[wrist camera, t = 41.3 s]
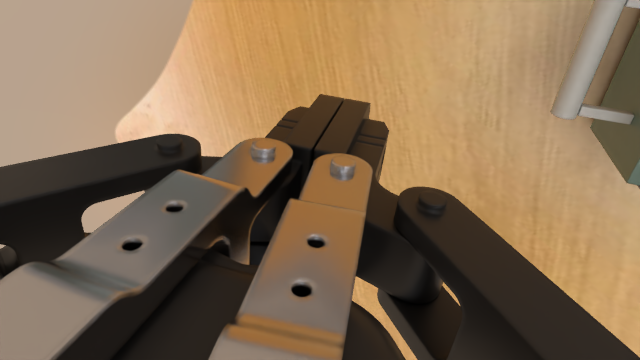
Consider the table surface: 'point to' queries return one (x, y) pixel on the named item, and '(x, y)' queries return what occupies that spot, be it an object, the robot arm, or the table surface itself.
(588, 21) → the drawer
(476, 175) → the table surface
